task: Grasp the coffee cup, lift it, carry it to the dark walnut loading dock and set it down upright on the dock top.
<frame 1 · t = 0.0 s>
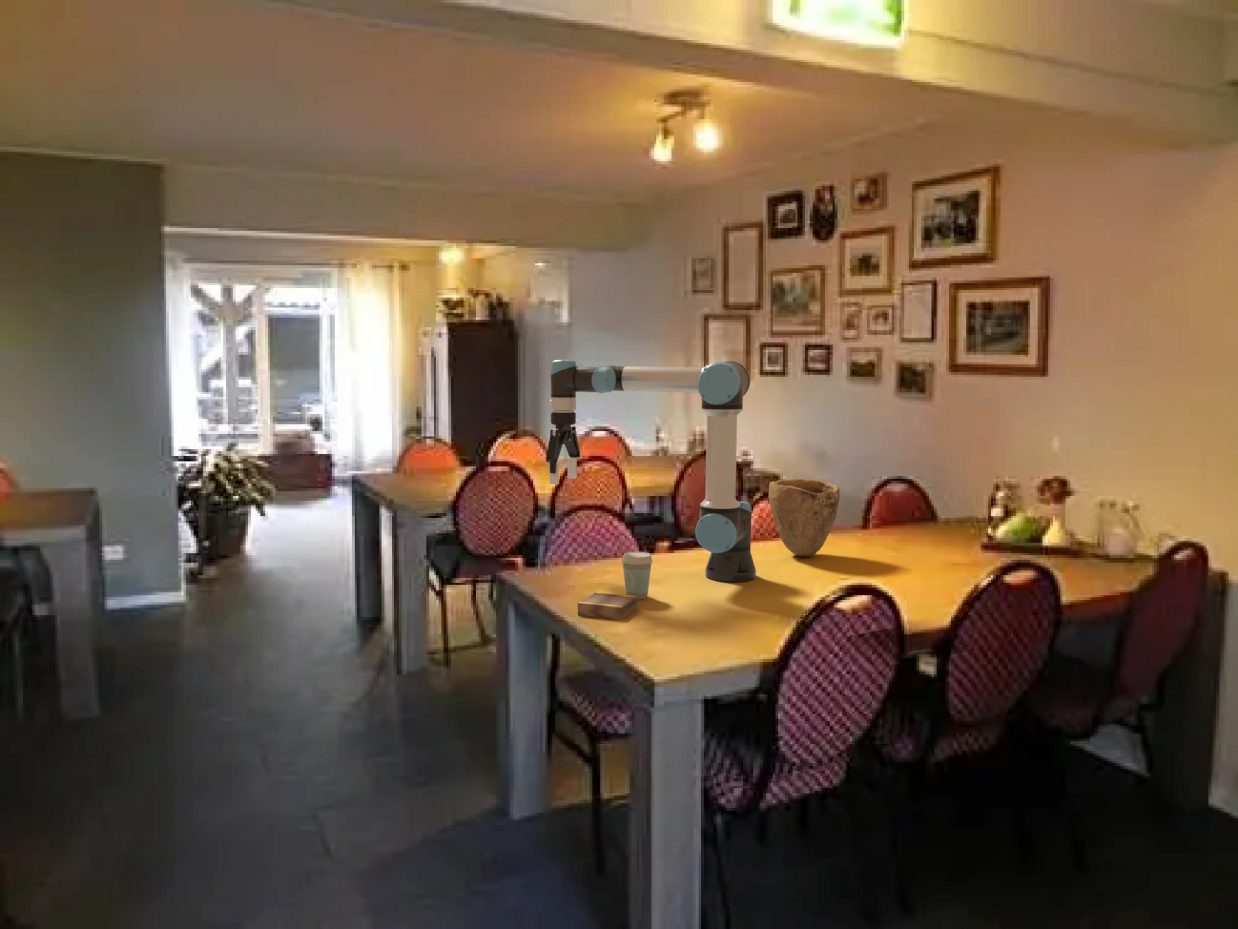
hand: (563, 481, 304), 28 cm above the table, fingers open, 13 cm apart
ancient clay pot: (802, 557, 332), on the table
coffee cup: (636, 597, 278), on the table
dock: (607, 611, 262), on the table
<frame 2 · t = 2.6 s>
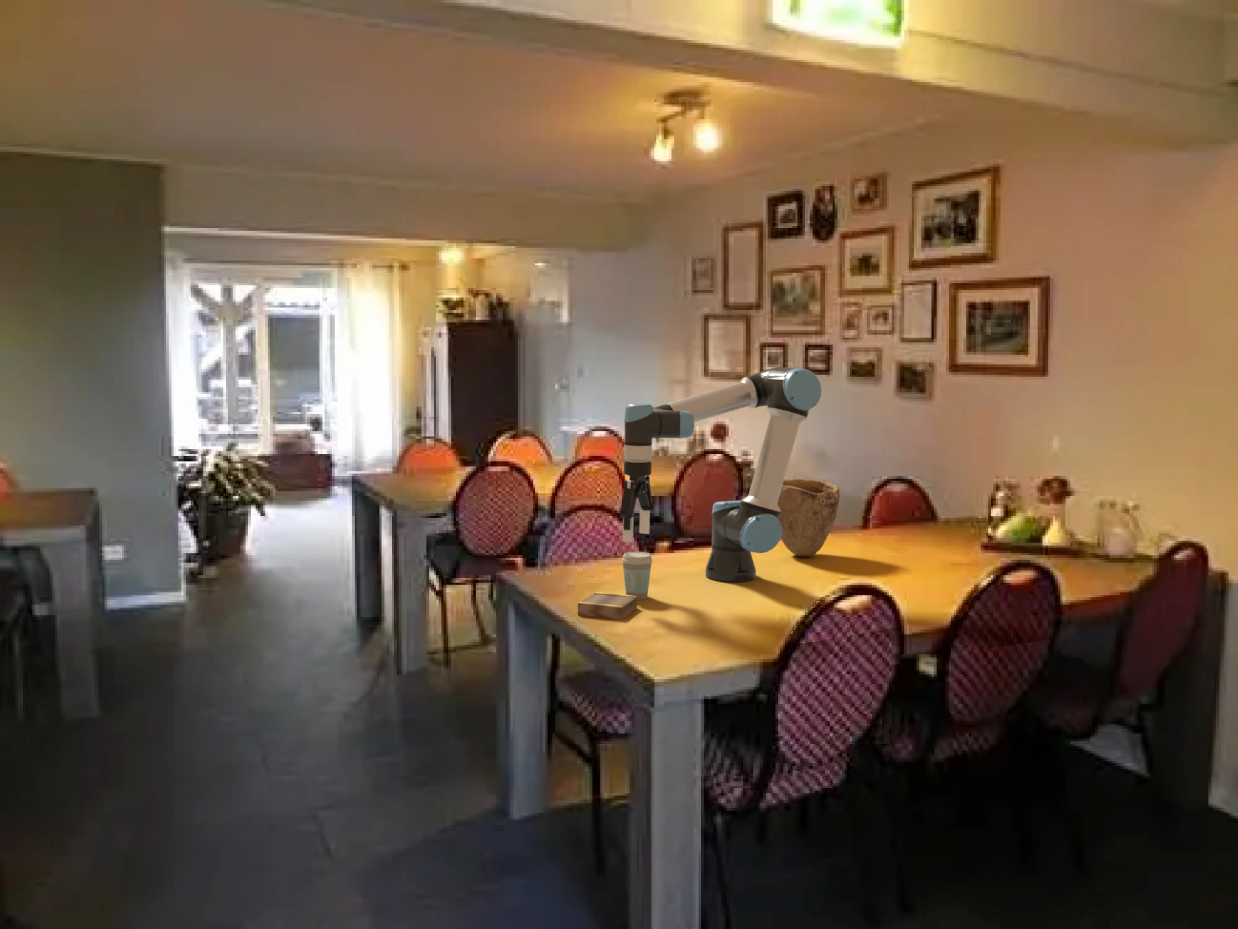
hand: (636, 537, 275), 17 cm above the table, fingers open, 13 cm apart
nothing on the table moved.
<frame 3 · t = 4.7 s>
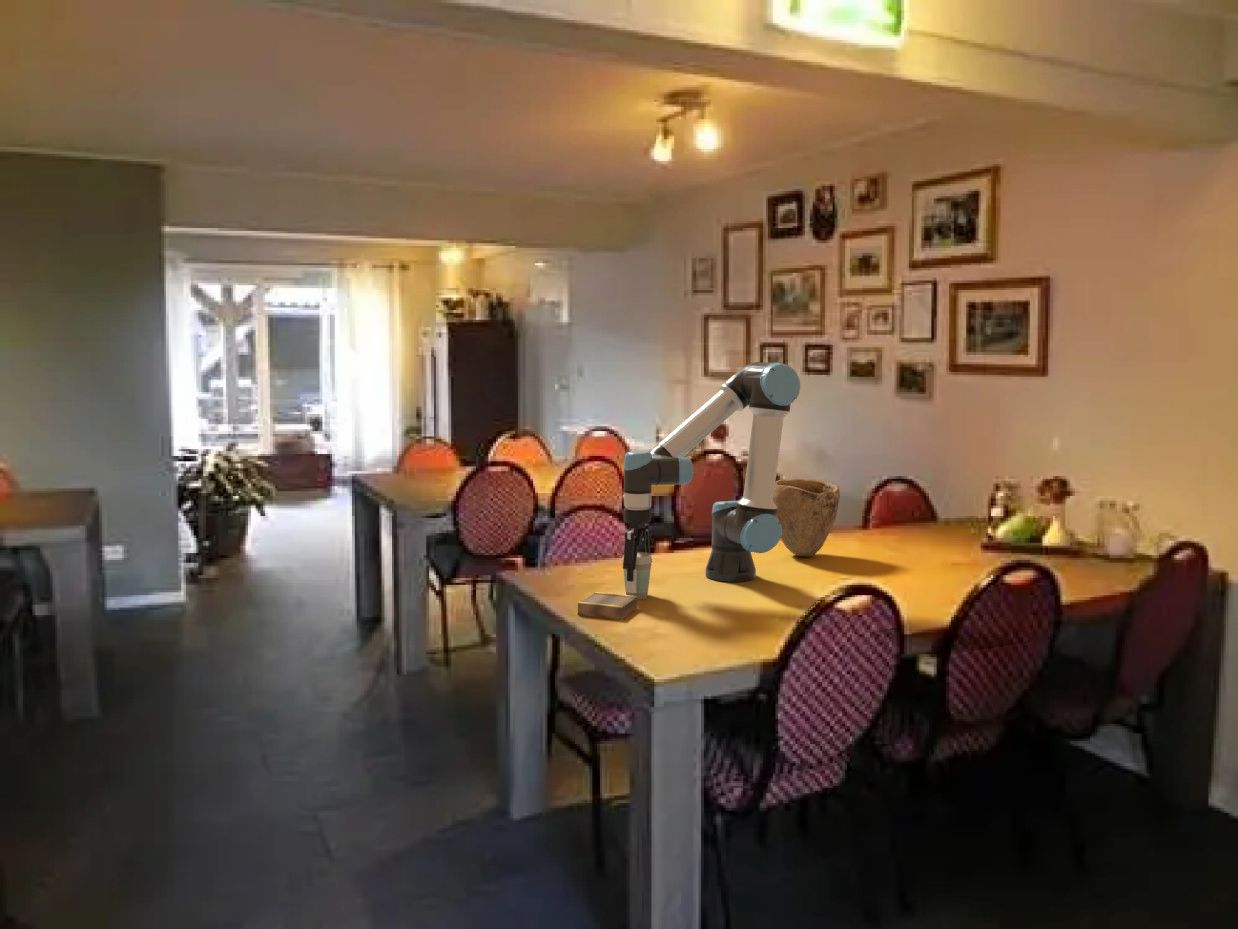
hand: (636, 588, 277), 2 cm above the table, fingers closed on coffee cup, 8 cm apart
coffee cup: (636, 597, 278), on the table, touching gripper
everything else where it was.
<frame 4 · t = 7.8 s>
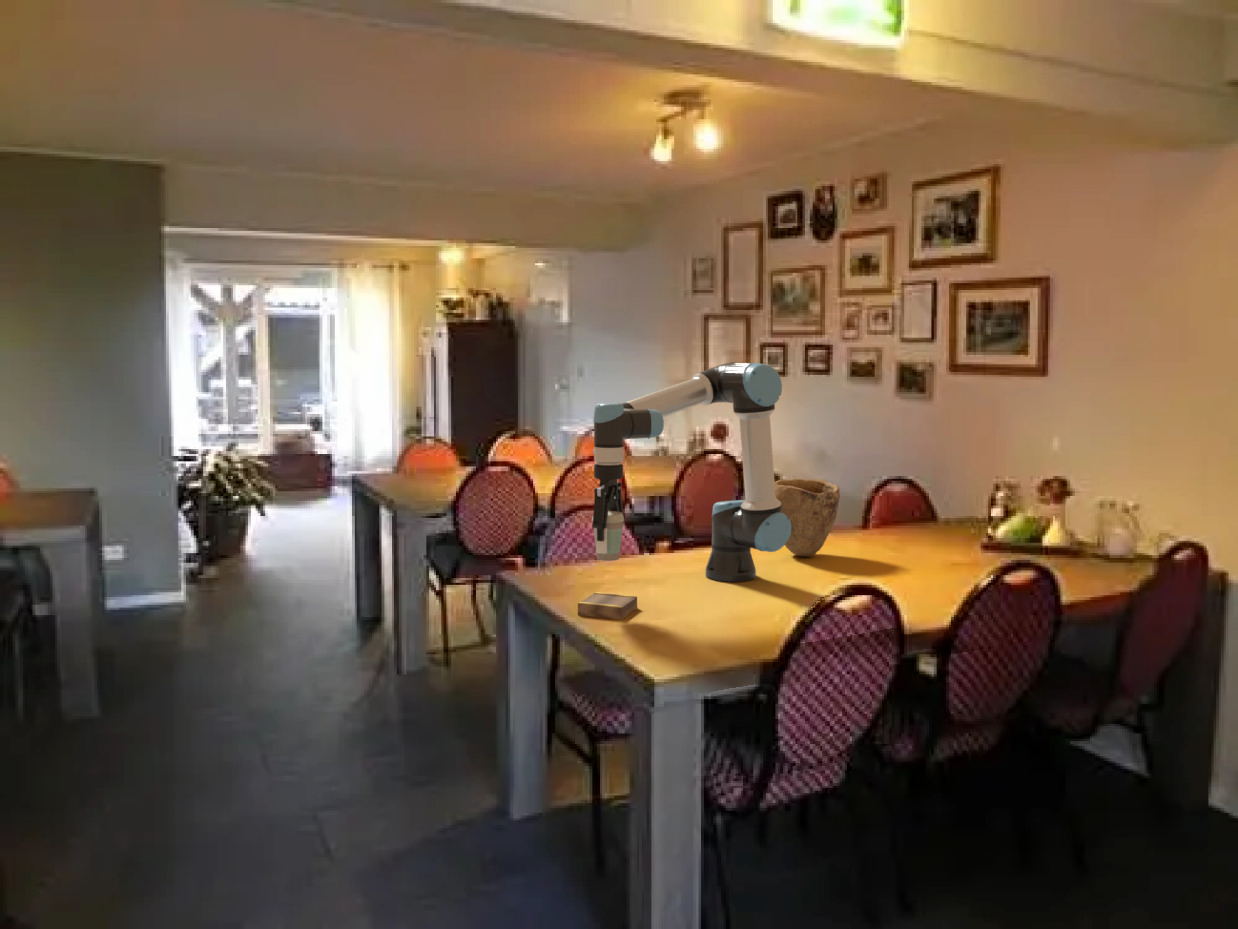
hand: (608, 549, 261), 16 cm above the table, fingers closed on coffee cup, 8 cm apart
coffee cup: (607, 559, 261), point 14 cm above the table, touching gripper
everything else where it was.
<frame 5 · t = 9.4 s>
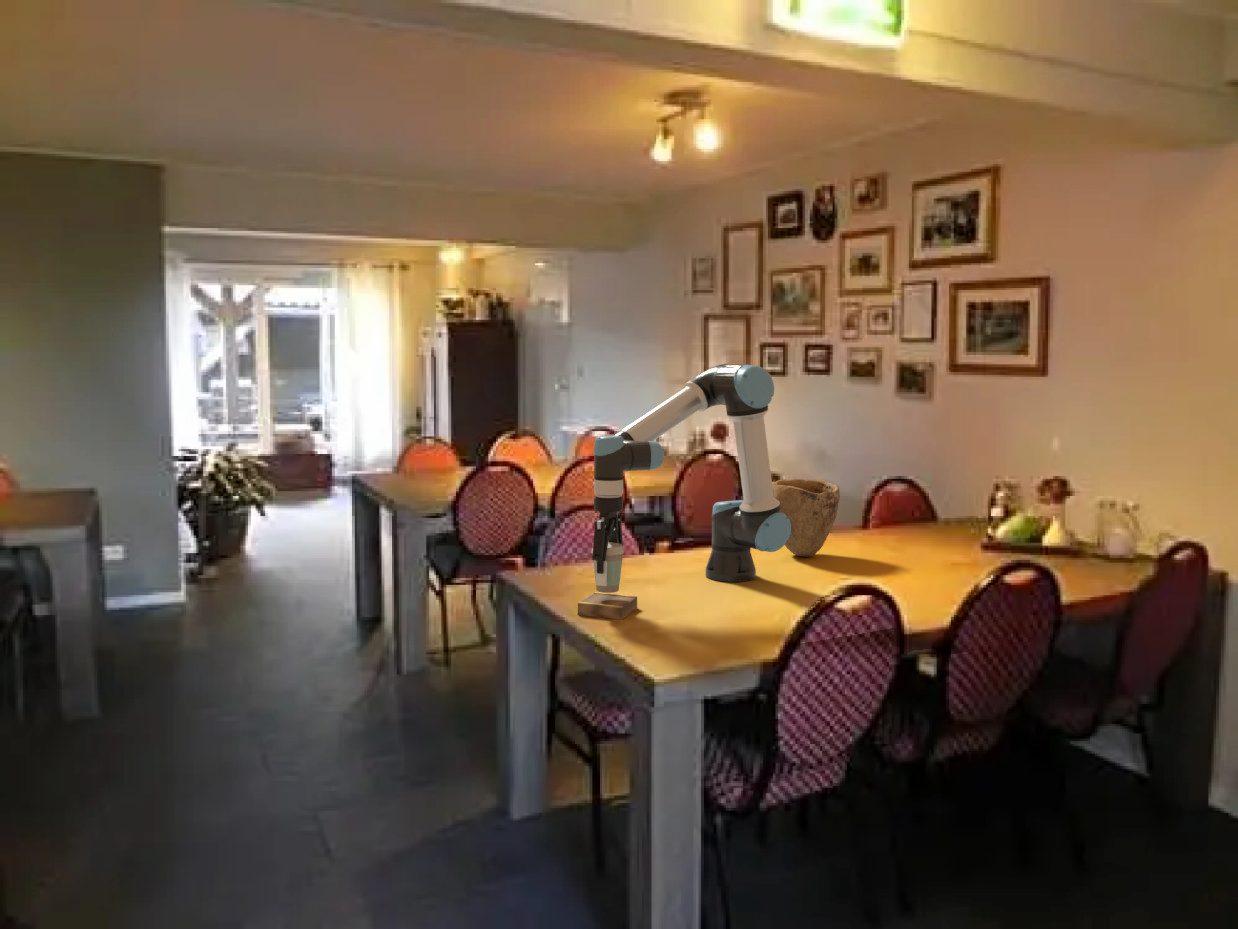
hand: (607, 581, 261), 8 cm above the table, fingers closed on coffee cup, 8 cm apart
coffee cup: (607, 591, 262), point 5 cm above the table, touching gripper
everything else where it was.
when the fingers open (6 cm above the table, at t = 10.9 s): coffee cup stays where it is, resting on dock.
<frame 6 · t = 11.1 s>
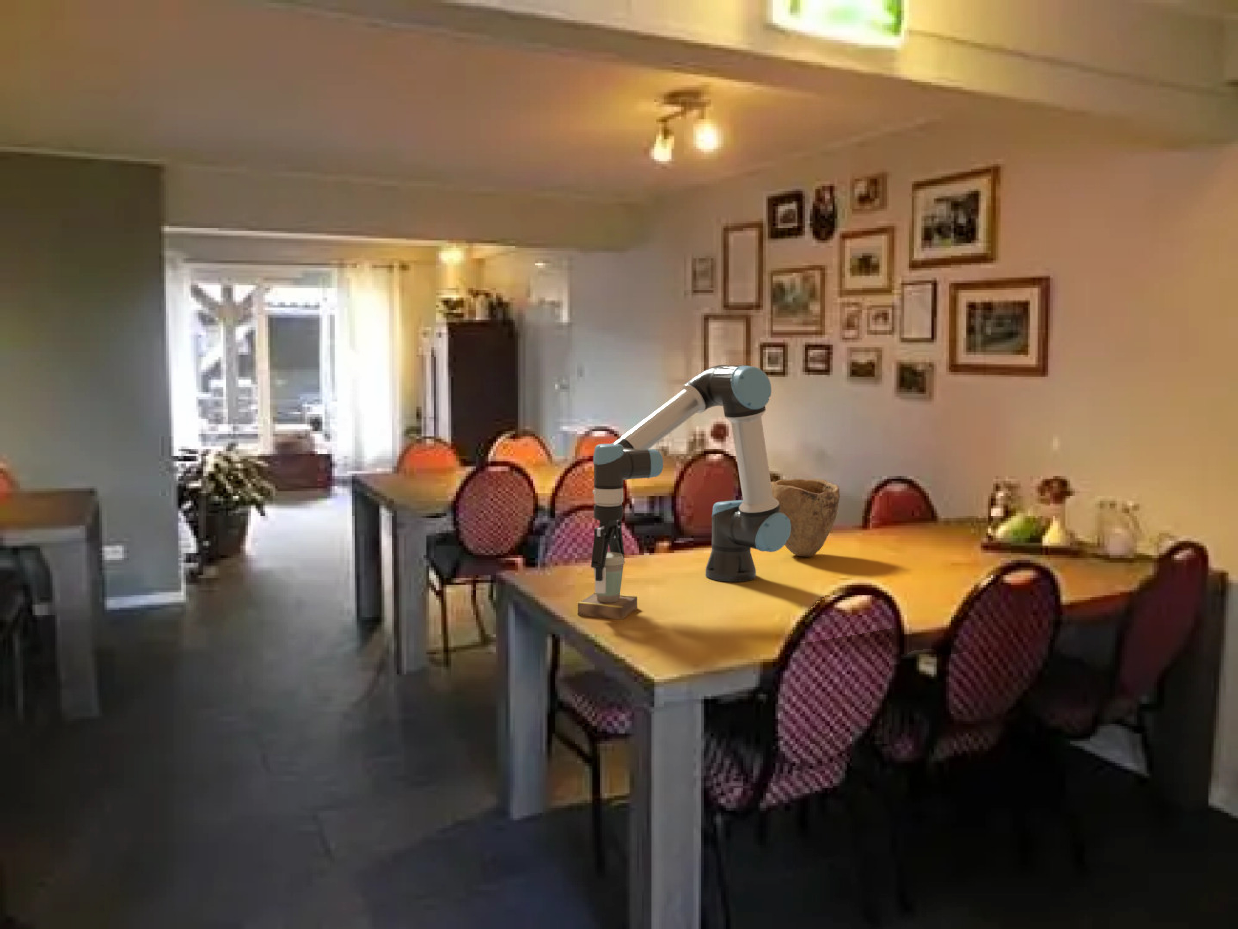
hand: (608, 587, 262), 6 cm above the table, fingers open, 10 cm apart
coffee cup: (608, 600, 262), point 3 cm above the table, touching dock
everything else where it was.
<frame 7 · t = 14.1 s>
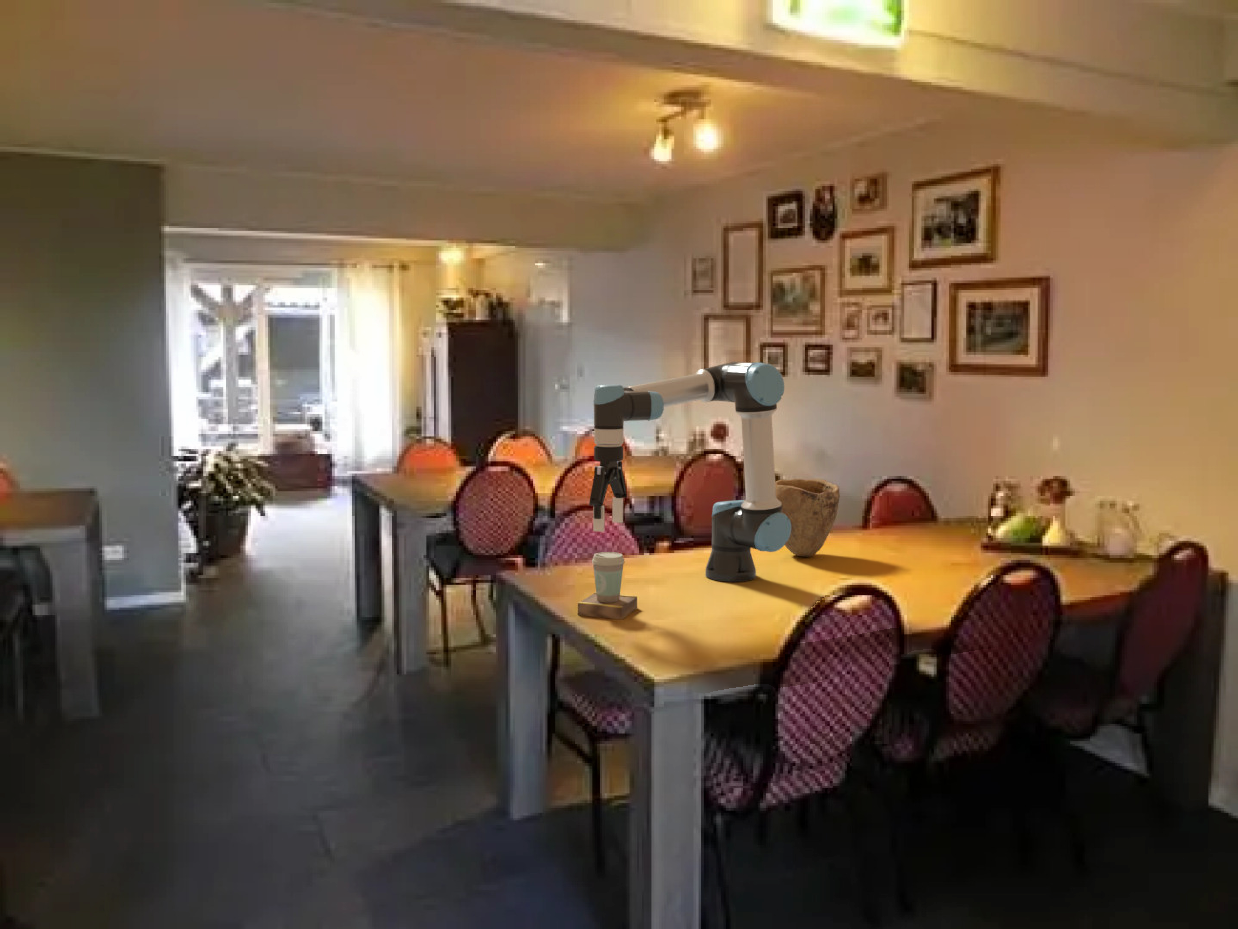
hand: (608, 526, 260), 22 cm above the table, fingers open, 13 cm apart
nothing on the table moved.
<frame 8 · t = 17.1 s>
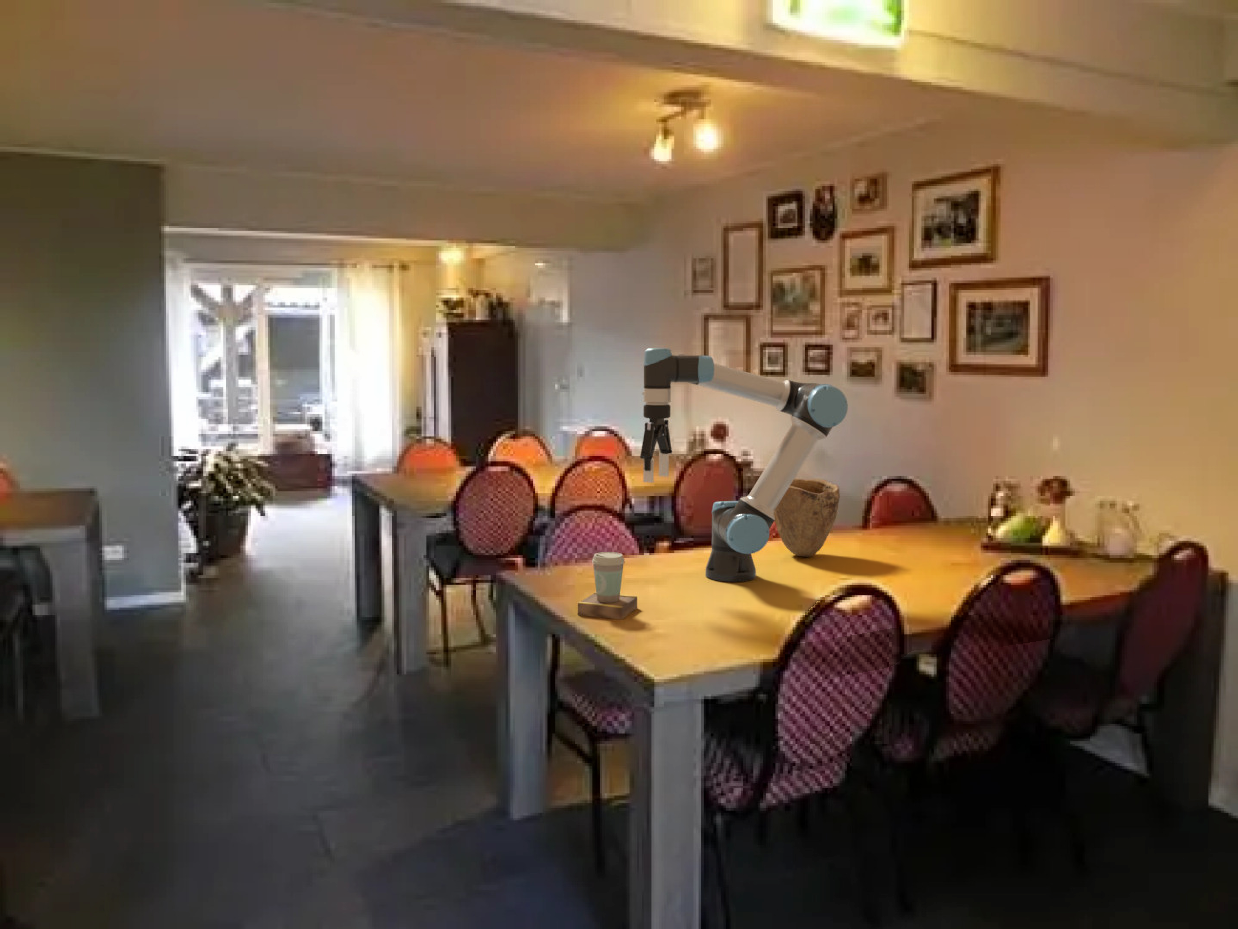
hand: (656, 479, 282), 32 cm above the table, fingers open, 13 cm apart
nothing on the table moved.
at the end: coffee cup inside the target area on the dock (0.2 cm from its centre), point 2.8 cm above the dock's base; coffee cup tilted 0°; the gripper is holding nothing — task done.
